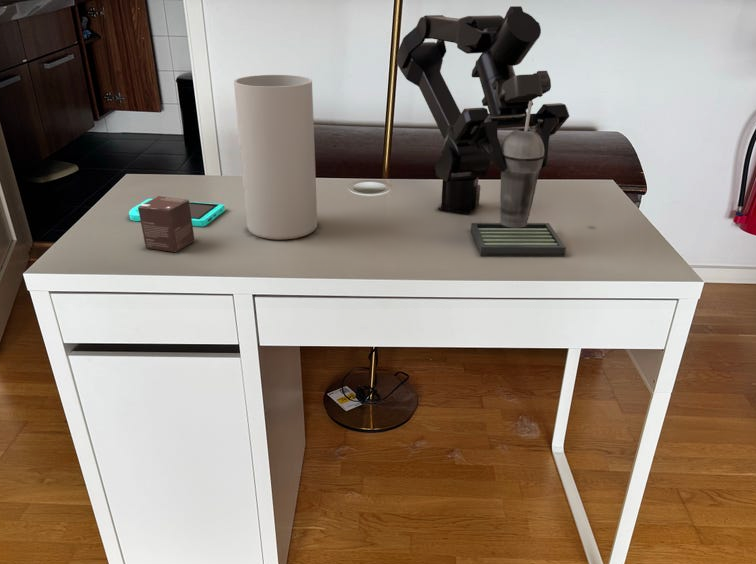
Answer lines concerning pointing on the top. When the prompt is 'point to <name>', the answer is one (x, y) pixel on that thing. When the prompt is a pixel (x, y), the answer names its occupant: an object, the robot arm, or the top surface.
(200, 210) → the handheld game console
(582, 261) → the top surface
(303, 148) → the cylinder vase
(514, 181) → the beverage cup
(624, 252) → the top surface
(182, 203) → the box
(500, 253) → the drying rack
